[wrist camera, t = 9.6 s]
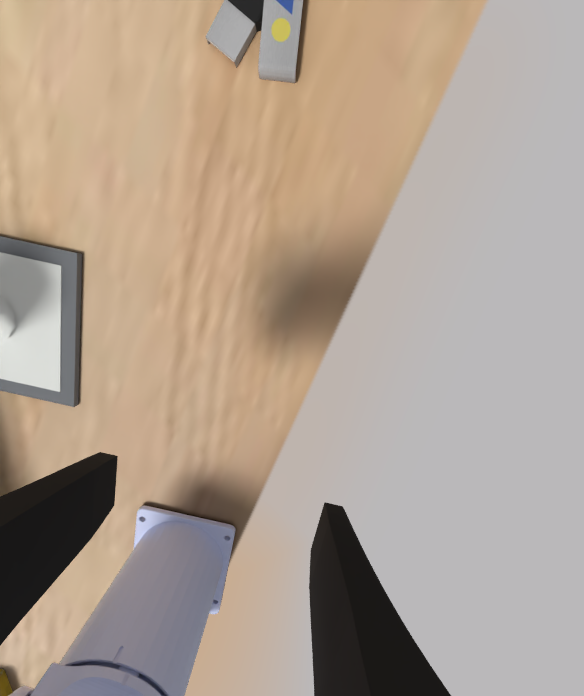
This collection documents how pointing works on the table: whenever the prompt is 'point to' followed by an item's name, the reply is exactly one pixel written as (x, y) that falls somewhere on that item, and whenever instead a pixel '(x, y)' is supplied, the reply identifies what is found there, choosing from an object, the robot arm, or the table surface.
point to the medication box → (4, 684)
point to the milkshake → (6, 319)
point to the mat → (41, 321)
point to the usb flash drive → (276, 34)
